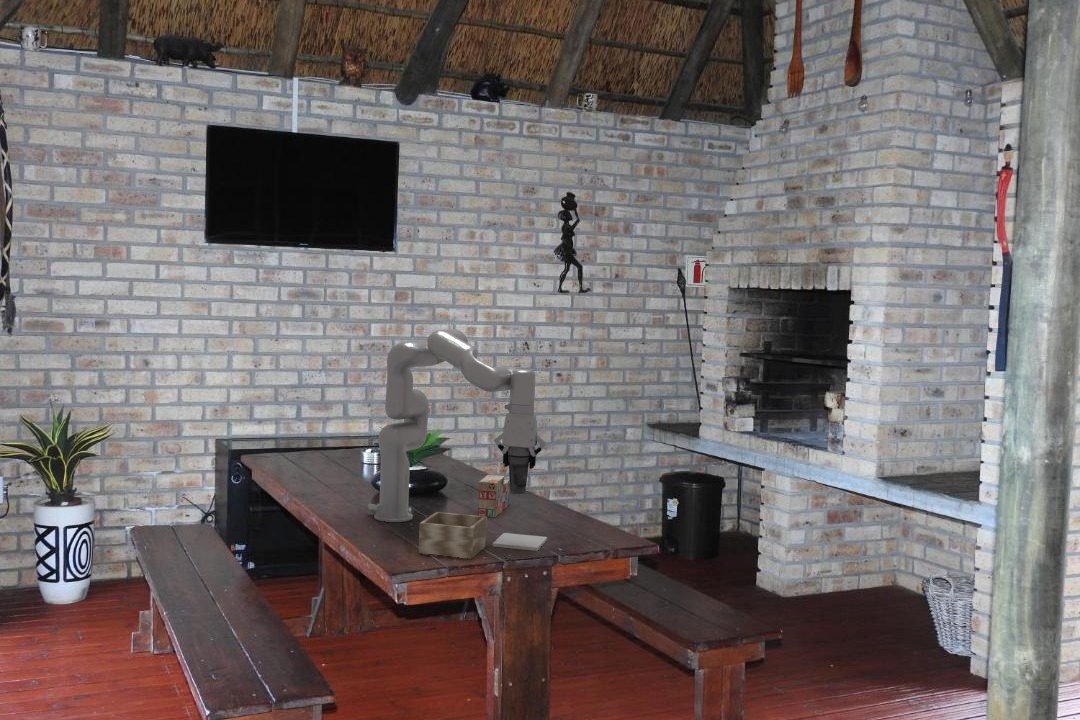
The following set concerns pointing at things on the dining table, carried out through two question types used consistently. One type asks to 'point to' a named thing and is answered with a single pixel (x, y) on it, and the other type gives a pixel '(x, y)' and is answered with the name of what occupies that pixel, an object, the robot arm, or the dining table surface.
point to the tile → (519, 541)
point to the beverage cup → (518, 468)
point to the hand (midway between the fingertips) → (519, 467)
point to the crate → (453, 535)
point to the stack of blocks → (493, 495)
